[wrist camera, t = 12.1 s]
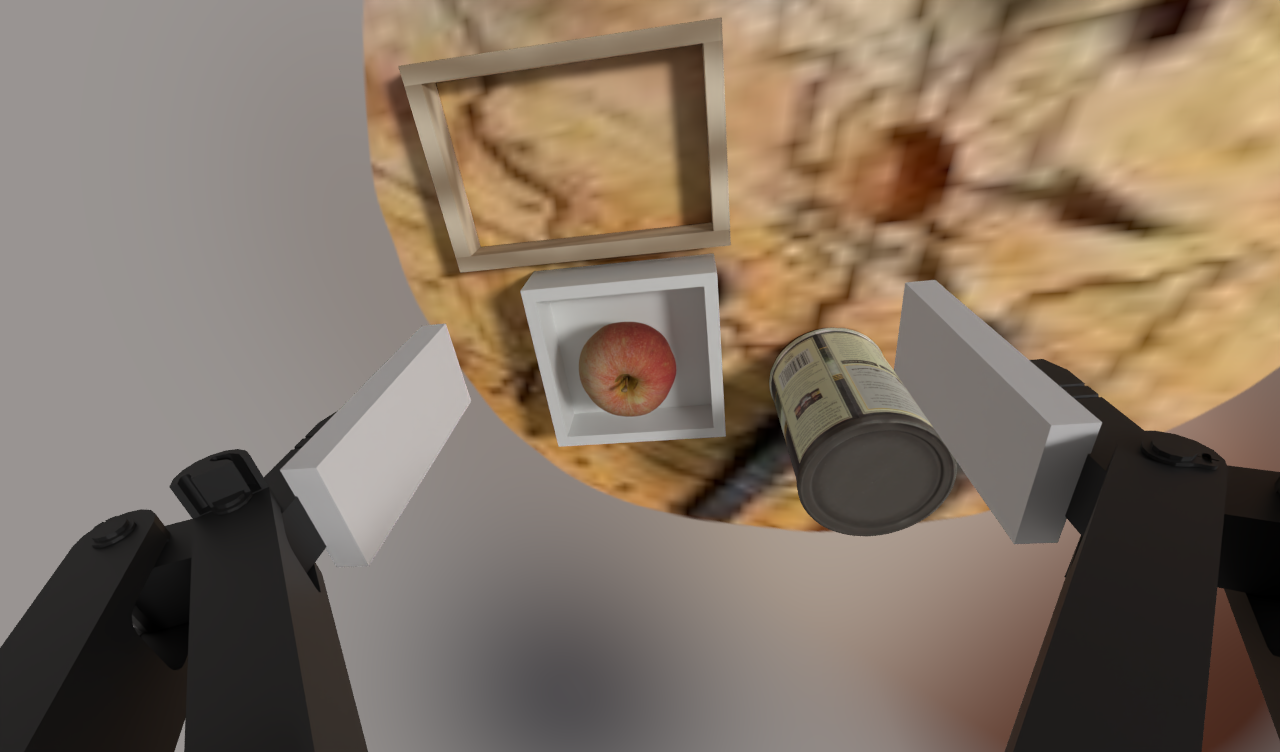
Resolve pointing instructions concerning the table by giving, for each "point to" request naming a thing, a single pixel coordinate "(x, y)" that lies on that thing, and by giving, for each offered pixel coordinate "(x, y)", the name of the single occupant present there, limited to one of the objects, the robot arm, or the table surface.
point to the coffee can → (857, 436)
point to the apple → (627, 368)
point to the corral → (427, 74)
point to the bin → (630, 292)
